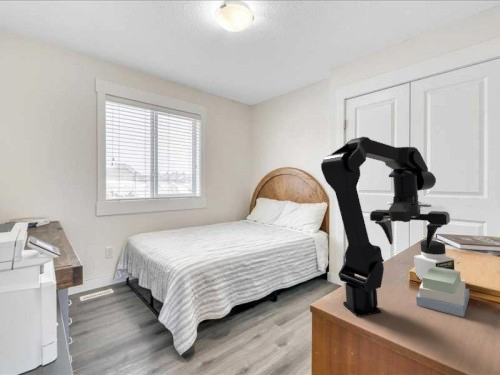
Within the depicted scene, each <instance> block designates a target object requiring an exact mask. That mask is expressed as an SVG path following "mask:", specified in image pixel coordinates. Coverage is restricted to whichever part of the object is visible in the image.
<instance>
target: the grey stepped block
mask: <svg viewBox="0 0 500 375" xmlns="http://www.w3.org/2000/svg"><path fill="white" fill-rule="evenodd" d="M469 300H470V289H469V288H466V279H462V278H461V281H460V283H459V285H458V287H457V289H456V291H455V293H454V294H450V293H445V292H441V291H436V290H432V289H427V288H423V281H422V280H421V283H420V285H419V290H418V293H417V294H416V296H415V301H416V302H415V303H416V306H419V307H422V308H427V309H430V310H434V311H438V312H442V313H446V314H450V315H454V316H457V317H461V318H464V317H465V314H466V312H467V308H468V307H467V306H468V304H469Z"/></svg>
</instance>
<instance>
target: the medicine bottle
mask: <svg viewBox="0 0 500 375" xmlns="http://www.w3.org/2000/svg"><path fill="white" fill-rule="evenodd" d="M426 241H427V239H424V240H422V241H420V254H416V255H414V256H413V258H414V259H413V260H414V271H415V272H414V274H415V273H416V275H417V276H418V277H419V279H420V281H421V282H422V281H423V280H422V277H423V276H424V275H425V274H426V273H427V272H428V270H429V269H430V268H431V267H432V266H433V267H439V268H445V269H451V270H455V260H454V259H455V258H452V257H450V256H447V254H446V251H447V250H446V244H445V242H443V241H441V240H438V239H432V242H431V245H430V248H429V249H427V245H426ZM419 279H418V280H419Z"/></svg>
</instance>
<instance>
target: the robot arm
mask: <svg viewBox="0 0 500 375" xmlns="http://www.w3.org/2000/svg"><path fill="white" fill-rule="evenodd" d="M367 158H368V159H371V160H377V161H379V162H380V161H381V162H383V163H384V164H385V166H386V167H388V168H390V169H392V171H391V172H390V173H389V174H388V178H393V191H394V196H393V200H392V204H391V205H390V207H389V209H375V210H372V211H371V212H370V214H369V219H370V221H371V222H374V223H375V224H376V225H379V227H380V228H382V230H383V232H384V234H385V237H386V238H387V240H388V243H389V245H393V240H394V239H393V238H394V236H393V227H392V225H393V224H392V222H393V223H394V222H403V223H409V222H411V221H425V222H426V221H427V222H428V224H427V225H426V230H427V231H426V240H427V241H426V245H427V249H429V248H430V245H431V242H432V240H434V236H435V233H436V232H437V230H438V229H440V228H442V227H443V226H447V225H448V224H449V223H450V222H451V219H450V218H451V215H450V213H449V212H448V211H437V210H431V211H429V212H427V213H421V207H420V204H419V193H418V192H419V191H425V190H430V189H432V188H433V187H435V185H436V182H437V179H436V176H435V175H434V173H433V172H431V171H430V170H429V167H428V166H427V164H426V161H425V160H424V158H423V156H422V153H420V151H419V149H418V148H417V147H415V146H401V147H399V146H398V147H397V146H392V145H390V144H386V143H382V142H380V141H377V140H373V139H371V138H369V137H367V136H359V137H356V138H352V139H350V140H348V141H347V142H346V143H345V144H344V145H342V146H341V147H339V148H338V149H336V150H334V151H333V152H331V154H329V155H327V156H325V157H324V158H323V159H322V162H321V164H320V168H321V173H322V175H323V177H324V180H325V182H326V183H327V185H328V186H330V188H331V189H332V190H333V191H334V192H335V197H336V201H337V204H338V208H339V211H340V217H341V220H342V221H341V222H342V224H343V227H344V232H345V236H346V241H347V247H346V249H345V252H344V256H345V261H344V263H343V264H342V266H341V268H340V270H339V271H338V278H339V280H340V281H341V282H344V283H345V284H344V287H345V297H346V298H345V301H343V302H342V303H343V305H344V306H345V307H346V308H347V307H348V308H349V309H350V310H349V309H348V308H347V309H348V310H349V311H350V312H352V313H353V314H354V313H355V314H356V315H357V317H361V316H368V315H374V314H378V313H381V312H382V310H381V308H379V307H378V289H380V288H381V287H382V282H383V277H384V270H385V268H384V262H385V260H384V258H383V256H382V255H383V254H382V249H381V247H380V246H378V245H374V244H372V242H370V238H369V234H368V231H367V230H368V229H367V226H366V222H365V218H364V214H363V210H362V205H361V201H360V197H359V193H358V189H357V185H358V183H359V180H360V178H361V168H360V167H362V166H363V164H364V163H365V162H366V160H367ZM355 314H354V315H355ZM356 315H355V316H356Z"/></svg>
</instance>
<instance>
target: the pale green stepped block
mask: <svg viewBox="0 0 500 375" xmlns="http://www.w3.org/2000/svg"><path fill="white" fill-rule="evenodd" d="M461 279H462V278H461V271H460V270H455V269H454V270H451V269H445V268H439V267H433V266H432V267H431V268H430V269H429V270H428V272H427V273H426V274H425V275H424V276H423V277H422V280H423V288H427V289H432V290H436V291H441V292H445V293H450V294H454V293H455V291H456V289H457V287H458V285H459V283H460V281H461ZM422 280H421V281H422Z"/></svg>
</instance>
